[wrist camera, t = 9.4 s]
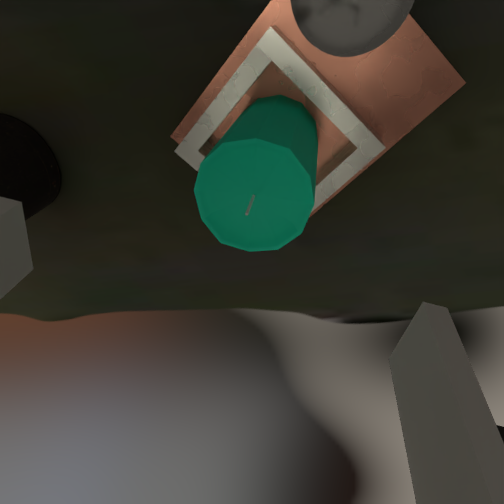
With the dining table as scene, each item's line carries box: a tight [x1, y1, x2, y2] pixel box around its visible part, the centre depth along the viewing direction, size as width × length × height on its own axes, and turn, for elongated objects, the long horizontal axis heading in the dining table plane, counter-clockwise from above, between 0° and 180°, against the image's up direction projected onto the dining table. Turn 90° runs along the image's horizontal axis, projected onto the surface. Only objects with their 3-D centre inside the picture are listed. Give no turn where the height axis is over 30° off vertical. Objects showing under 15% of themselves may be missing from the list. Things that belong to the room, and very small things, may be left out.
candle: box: [194, 94, 318, 252], centre depth 22 cm, size 6×6×12 cm
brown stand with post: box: [170, 0, 466, 217], centre depth 21 cm, size 12×16×14 cm
